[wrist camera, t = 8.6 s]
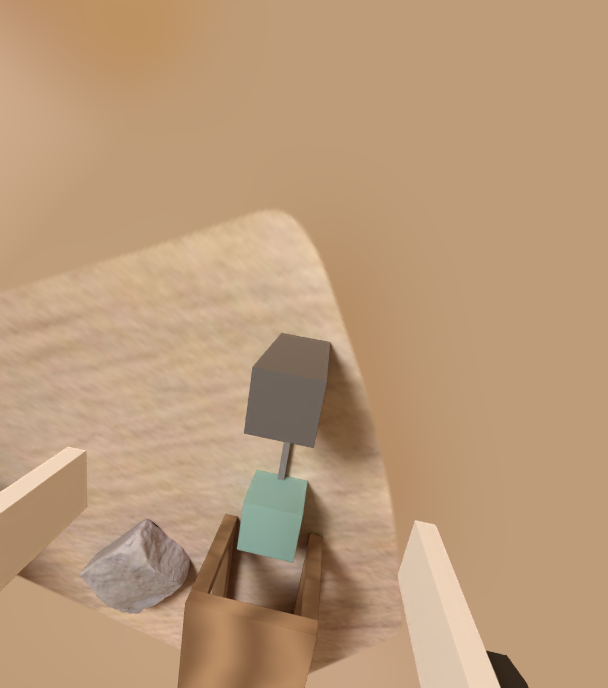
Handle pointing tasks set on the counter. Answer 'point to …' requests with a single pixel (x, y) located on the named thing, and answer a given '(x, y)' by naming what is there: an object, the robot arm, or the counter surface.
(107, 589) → the stone block
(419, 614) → the robot arm
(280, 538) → the tethered block
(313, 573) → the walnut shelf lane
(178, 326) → the counter surface
